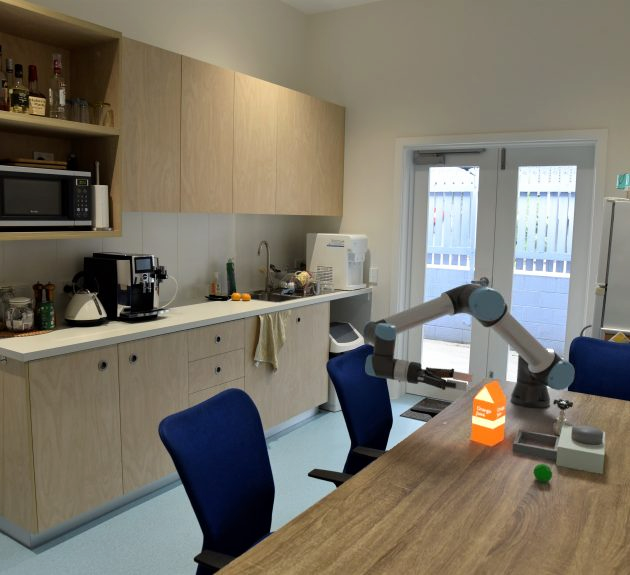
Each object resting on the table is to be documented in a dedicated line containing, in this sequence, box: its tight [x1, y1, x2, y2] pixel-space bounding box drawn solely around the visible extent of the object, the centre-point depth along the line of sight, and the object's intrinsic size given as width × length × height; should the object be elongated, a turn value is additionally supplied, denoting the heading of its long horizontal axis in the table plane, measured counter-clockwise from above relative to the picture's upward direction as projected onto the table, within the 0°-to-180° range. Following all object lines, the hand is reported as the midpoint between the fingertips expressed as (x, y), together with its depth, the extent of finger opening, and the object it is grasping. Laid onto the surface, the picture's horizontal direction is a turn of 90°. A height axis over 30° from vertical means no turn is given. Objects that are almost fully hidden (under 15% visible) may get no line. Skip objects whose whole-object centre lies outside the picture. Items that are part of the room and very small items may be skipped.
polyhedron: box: [532, 463, 553, 483], centre depth 173 cm, size 5×5×5 cm
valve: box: [552, 398, 574, 436], centre depth 210 cm, size 7×7×12 cm
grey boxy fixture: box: [512, 424, 606, 475], centre depth 194 cm, size 22×26×9 cm
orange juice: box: [470, 380, 507, 447], centre depth 203 cm, size 8×9×20 cm
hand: (469, 382), depth 204 cm, fingers open, 13 cm apart
